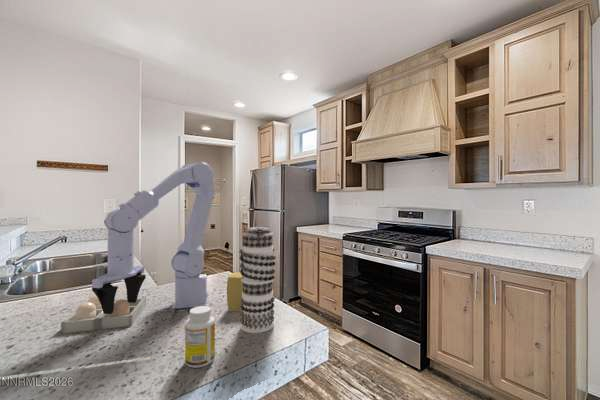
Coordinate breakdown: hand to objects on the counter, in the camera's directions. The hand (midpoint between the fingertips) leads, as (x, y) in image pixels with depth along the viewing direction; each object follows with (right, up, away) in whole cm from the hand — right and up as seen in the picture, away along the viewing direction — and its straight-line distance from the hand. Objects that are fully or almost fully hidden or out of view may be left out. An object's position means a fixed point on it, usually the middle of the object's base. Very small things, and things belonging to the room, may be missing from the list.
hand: (120, 307), depth 72 cm
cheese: (+31, -5, +13) cm, 34 cm away
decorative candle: (+36, -4, -1) cm, 36 cm away
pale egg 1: (-7, -4, -2) cm, 8 cm away
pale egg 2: (-9, -4, +4) cm, 11 cm away
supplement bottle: (+27, -4, -17) cm, 32 cm away
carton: (-5, -4, +2) cm, 6 cm away
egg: (0, -4, 0) cm, 4 cm away
